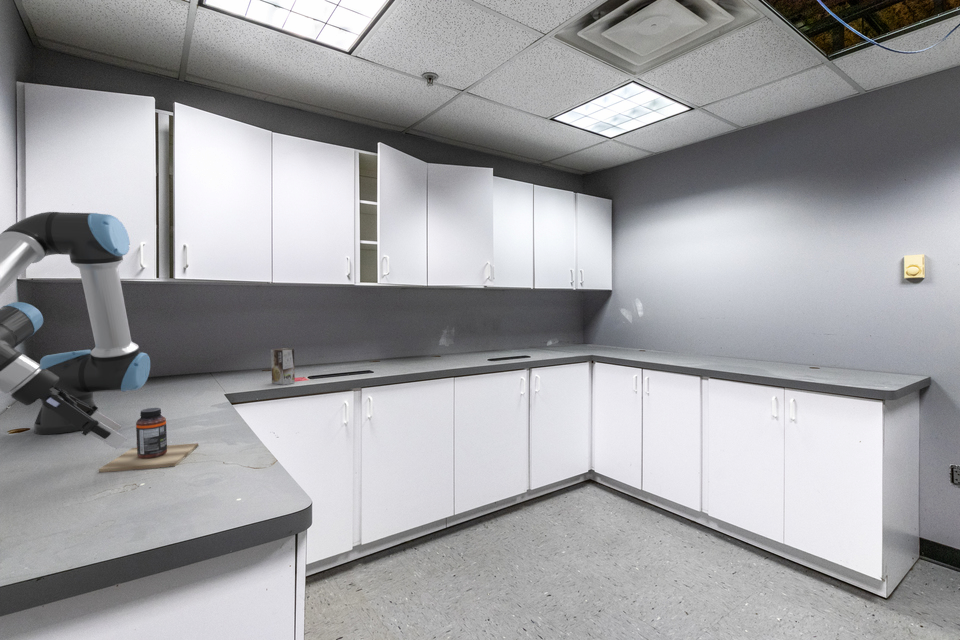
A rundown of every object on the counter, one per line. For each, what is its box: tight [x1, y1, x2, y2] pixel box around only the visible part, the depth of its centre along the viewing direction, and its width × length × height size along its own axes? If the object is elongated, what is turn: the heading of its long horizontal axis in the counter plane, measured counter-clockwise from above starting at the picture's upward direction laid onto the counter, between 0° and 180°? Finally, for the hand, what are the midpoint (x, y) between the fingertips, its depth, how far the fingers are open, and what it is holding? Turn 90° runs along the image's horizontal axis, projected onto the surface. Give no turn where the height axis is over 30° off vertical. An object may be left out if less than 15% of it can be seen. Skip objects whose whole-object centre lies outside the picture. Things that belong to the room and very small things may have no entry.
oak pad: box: [98, 442, 199, 473], centre depth 110 cm, size 15×15×1 cm
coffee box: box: [270, 347, 296, 385], centre depth 211 cm, size 9×6×16 cm
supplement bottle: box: [135, 407, 168, 458], centre depth 110 cm, size 6×6×11 cm
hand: (119, 437), depth 106 cm, fingers open, 13 cm apart
